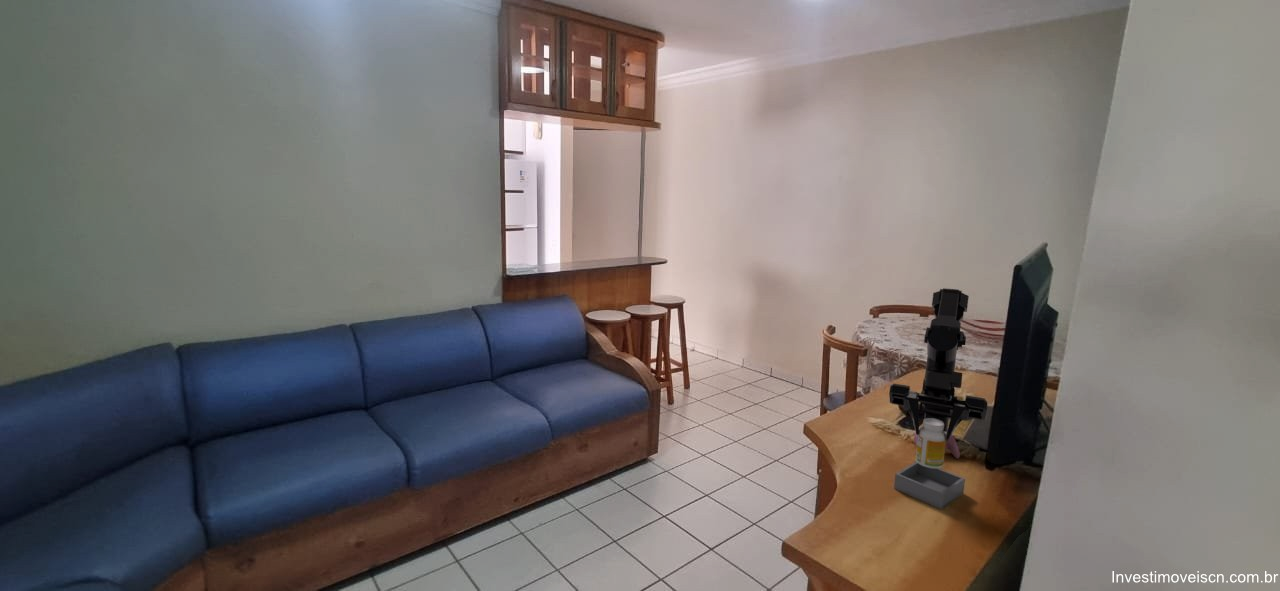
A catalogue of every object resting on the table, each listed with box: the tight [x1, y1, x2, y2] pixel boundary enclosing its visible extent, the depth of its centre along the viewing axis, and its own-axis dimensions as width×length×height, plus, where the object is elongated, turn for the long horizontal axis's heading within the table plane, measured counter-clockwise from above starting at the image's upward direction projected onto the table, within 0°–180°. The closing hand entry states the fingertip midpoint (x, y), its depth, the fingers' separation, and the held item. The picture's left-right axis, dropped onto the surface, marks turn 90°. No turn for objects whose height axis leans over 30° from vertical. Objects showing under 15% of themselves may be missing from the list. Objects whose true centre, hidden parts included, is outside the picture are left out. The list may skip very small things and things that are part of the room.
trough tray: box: [893, 460, 966, 510], centre depth 119 cm, size 10×10×4 cm
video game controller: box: [913, 431, 961, 460], centre depth 136 cm, size 10×5×7 cm, turn 85°
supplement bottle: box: [915, 417, 946, 469], centre depth 117 cm, size 5×5×10 cm
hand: (931, 437), depth 116 cm, fingers closed on supplement bottle, 5 cm apart
